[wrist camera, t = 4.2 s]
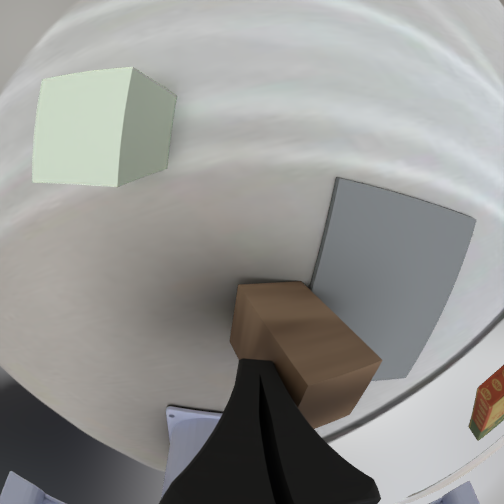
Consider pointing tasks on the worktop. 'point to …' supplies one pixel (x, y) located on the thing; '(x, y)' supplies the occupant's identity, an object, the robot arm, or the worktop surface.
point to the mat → (389, 268)
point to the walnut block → (303, 348)
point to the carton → (488, 405)
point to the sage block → (101, 128)
